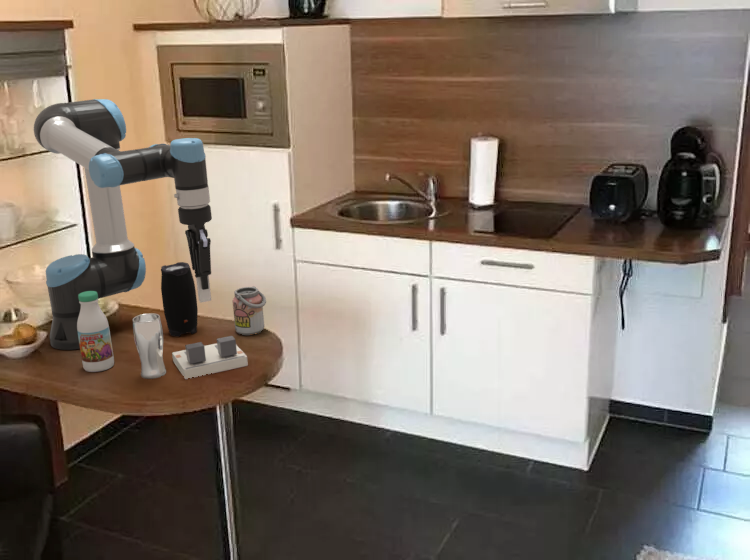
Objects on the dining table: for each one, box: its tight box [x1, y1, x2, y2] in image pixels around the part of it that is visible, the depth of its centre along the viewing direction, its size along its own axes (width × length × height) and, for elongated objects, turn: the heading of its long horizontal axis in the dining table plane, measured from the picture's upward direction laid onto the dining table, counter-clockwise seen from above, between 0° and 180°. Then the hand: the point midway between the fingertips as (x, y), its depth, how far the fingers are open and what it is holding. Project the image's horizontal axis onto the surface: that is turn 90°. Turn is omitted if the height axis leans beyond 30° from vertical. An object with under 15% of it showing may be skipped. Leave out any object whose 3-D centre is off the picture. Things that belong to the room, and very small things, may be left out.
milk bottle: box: [77, 291, 115, 373], centre depth 211 cm, size 8×8×20 cm
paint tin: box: [232, 285, 267, 336], centre depth 232 cm, size 9×8×12 cm
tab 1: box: [184, 341, 206, 364], centre depth 207 cm, size 3×4×4 cm
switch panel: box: [171, 342, 249, 380], centre depth 212 cm, size 13×16×3 cm
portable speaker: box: [160, 261, 198, 338], centre depth 232 cm, size 9×9×20 cm
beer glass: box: [132, 312, 167, 380], centre depth 206 cm, size 7×7×15 cm
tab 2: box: [216, 335, 237, 357], centre depth 210 cm, size 3×4×4 cm
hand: (205, 300), depth 202 cm, fingers closed
